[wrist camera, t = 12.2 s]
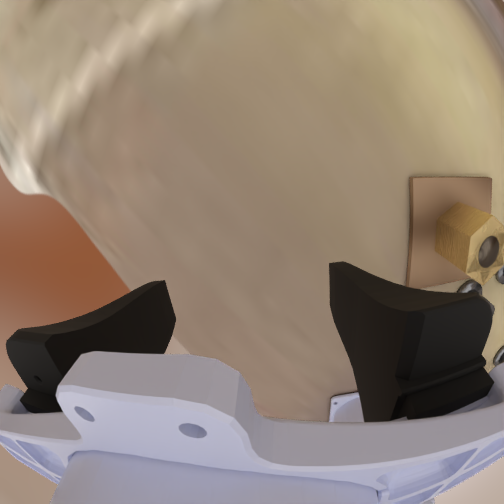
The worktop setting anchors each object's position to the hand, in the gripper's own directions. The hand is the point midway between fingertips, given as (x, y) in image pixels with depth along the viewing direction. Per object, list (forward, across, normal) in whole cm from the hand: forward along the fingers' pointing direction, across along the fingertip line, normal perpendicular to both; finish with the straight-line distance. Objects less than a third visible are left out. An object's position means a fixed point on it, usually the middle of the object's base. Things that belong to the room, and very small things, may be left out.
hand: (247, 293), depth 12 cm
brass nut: (+10, -18, +2) cm, 21 cm away
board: (+10, -18, +2) cm, 21 cm away
